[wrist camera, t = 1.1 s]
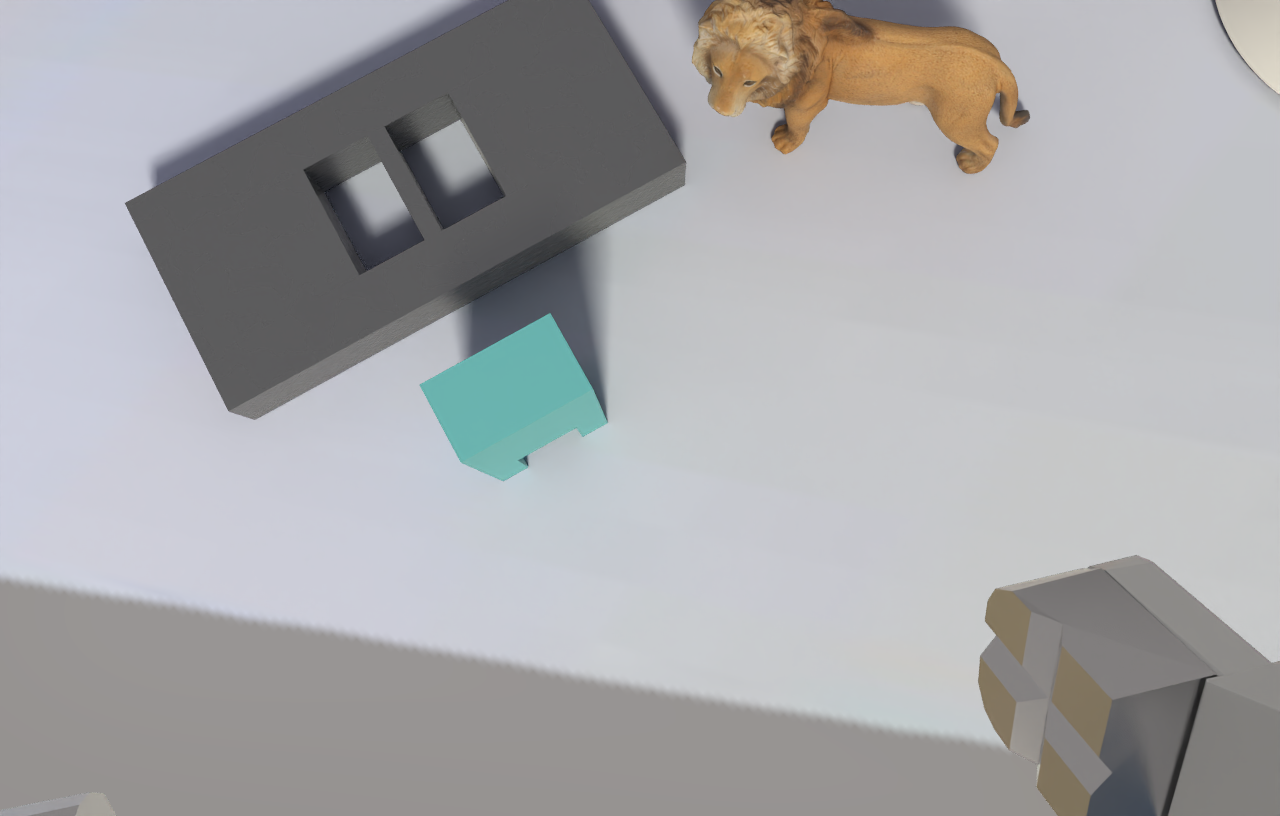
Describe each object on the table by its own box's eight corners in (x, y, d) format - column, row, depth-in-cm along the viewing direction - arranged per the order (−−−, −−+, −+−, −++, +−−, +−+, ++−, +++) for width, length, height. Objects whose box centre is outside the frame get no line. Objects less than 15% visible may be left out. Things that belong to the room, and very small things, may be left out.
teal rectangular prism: (573, 361, 41) (550, 313, 32) (607, 422, 40) (592, 389, 32) (469, 419, 41) (419, 384, 32) (503, 481, 40) (460, 462, 32)
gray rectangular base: (574, 1, 43) (569, -33, 41) (684, 184, 42) (685, 161, 39) (156, 223, 42) (124, 203, 40) (254, 419, 41) (228, 411, 38)
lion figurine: (688, 183, 42) (695, 84, 33) (686, 69, 43) (693, -58, 34) (1028, 176, 42) (1127, 75, 33) (1019, 62, 42) (1114, -68, 34)
